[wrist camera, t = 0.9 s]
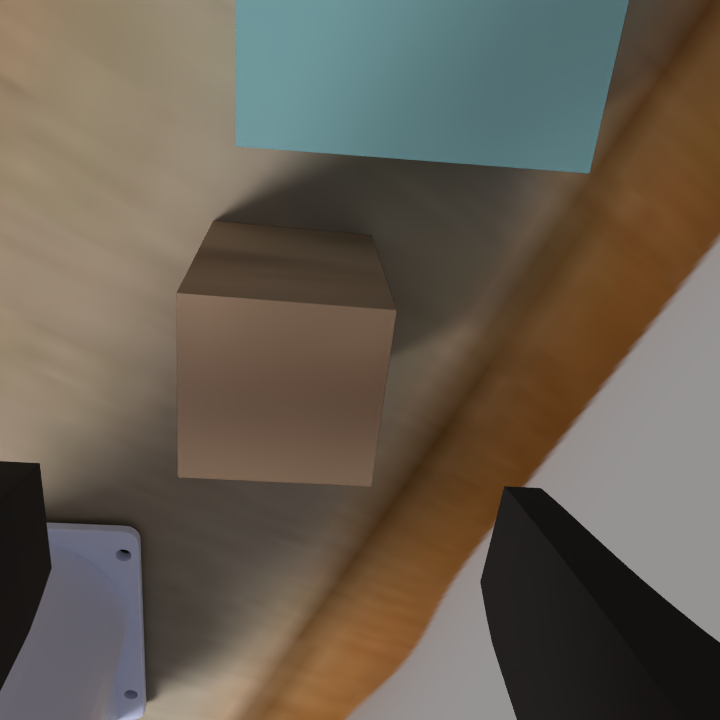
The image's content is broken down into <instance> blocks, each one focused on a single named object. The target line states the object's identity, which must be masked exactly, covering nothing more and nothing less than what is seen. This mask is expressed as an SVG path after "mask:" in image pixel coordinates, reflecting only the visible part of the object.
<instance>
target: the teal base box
mask: <svg viewBox="0 0 720 720" xmlns="http://www.w3.org/2000/svg"><path fill="white" fill-rule="evenodd" d="M628 3H629V0H236V125H235V146H238V147H251V148H264V149H277V150H290V151H303V152H316V153H329V154H342V155H355V156H368V157H381V158H394V159H407V160H420V161H433V162H446V163H459V164H472V165H486V166H499V167H512V168H525V169H538V170H551V171H564V172H577V173H590V169H591V164H592V160H593V156H594V151H595V147H596V142H597V138H598V134H599V129H600V125H601V121H602V116H603V112H604V108H605V103H606V99H607V94H608V90H609V86H610V81H611V77H612V73H613V68H614V64H615V59H616V55H617V51H618V46H619V42H620V38H621V33H622V29H623V25H624V20H625V16H626V11H627V7H628Z"/></svg>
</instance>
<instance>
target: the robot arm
mask: <svg viewBox="0 0 720 720" xmlns="http://www.w3.org/2000/svg"><path fill="white" fill-rule="evenodd" d="M122 549H124V550H128V551H129V552H130V553H123V552H121V551H120V550H122ZM481 588H482V594H483V599H484V605H485V610H486V616H487V621H488V625H489V630H490V635H491V639H492V643H493V647H494V650H495V653H496V656H497V659H498V663H499V666H500V669H501V672H502V675H503V678H504V681H505V685H506V688H507V691H508V694H509V697H510V700H511V703H512V706H513V709H514V712H515V715H516V718H517V720H720V642H718V641H717V640H716V639H714V638H713V637H712V636H710V635H709V634H707V633H706V632H705V631H704V630H702V629H701V628H700V627H699V626H697V625H696V624H695V623H694V622H692V621H691V620H690V619H689V618H688V617H686V616H685V615H684V614H683V613H681V612H680V611H679V610H678V609H676V608H675V607H674V606H673V605H672V604H670V603H669V602H668V601H667V600H665V599H664V598H663V597H662V596H661V595H659V594H658V593H657V592H656V591H655V590H654V589H652V588H651V587H650V586H649V585H648V584H647V583H645V582H644V581H643V580H642V579H641V578H640V577H639V576H637V575H636V574H635V573H634V572H633V571H632V570H631V569H629V568H628V567H627V566H626V565H625V564H624V563H622V561H621V560H619V559H618V558H617V557H616V556H615V555H614V554H613V553H612V552H611V551H609V550H608V549H607V548H606V547H605V546H604V545H603V544H602V543H601V542H600V541H599V540H597V539H596V538H595V537H594V536H593V535H592V534H591V533H590V532H589V531H588V530H587V529H585V528H584V527H583V526H582V525H581V524H580V523H579V522H578V521H577V520H576V519H575V518H574V517H573V516H571V515H570V514H569V513H568V512H567V511H566V510H565V509H564V508H563V507H562V506H561V505H560V504H558V503H557V502H556V501H555V500H554V499H553V498H552V497H550V496H549V495H548V494H547V493H546V492H545V491H543V490H542V489H541V488H526V487H506V486H504V490H503V494H502V498H501V502H500V506H499V510H498V514H497V518H496V522H495V526H494V530H493V534H492V538H491V542H490V546H489V550H488V554H487V558H486V562H485V566H484V570H483V574H482V578H481ZM145 708H146V678H145V650H144V623H143V595H142V568H141V540H140V535H139V533H138V532H137V530H136V529H134V528H132V527H129V526H120V525H94V524H69V523H46V514H45V506H44V497H43V488H42V480H41V471H40V463H23V462H3V461H0V720H134V719H138V718H140V717H142V716H143V715H144V712H145Z"/></svg>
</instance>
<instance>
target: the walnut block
mask: <svg viewBox="0 0 720 720" xmlns="http://www.w3.org/2000/svg"><path fill="white" fill-rule="evenodd" d="M396 312H397V310H396V307H395V304H394V301H393V298H392V295H391V292H390V289H389V286H388V283H387V280H386V277H385V274H384V271H383V268H382V266H381V263H380V260H379V257H378V254H377V251H376V248H375V245H374V242H373V239H372V236H371V235H364V234H353V233H342V232H331V231H320V230H309V229H298V228H287V227H277V226H266V225H255V224H244V223H233V222H222V221H213V223H212V224H211V226H210V228H209V230H208V232H207V234H206V236H205V238H204V240H203V242H202V244H201V246H200V248H199V250H198V252H197V254H196V256H195V258H194V260H193V262H192V264H191V266H190V268H189V270H188V272H187V274H186V276H185V277H184V279H183V281H182V283H181V285H180V287H179V289H178V291H177V449H178V477H181V478H202V479H223V480H245V481H266V482H287V483H308V484H329V485H350V486H371V484H372V477H373V471H374V464H375V457H376V450H377V443H378V436H379V429H380V422H381V415H382V408H383V402H384V395H385V388H386V381H387V374H388V367H389V360H390V353H391V346H392V339H393V333H394V326H395V319H396Z"/></svg>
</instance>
